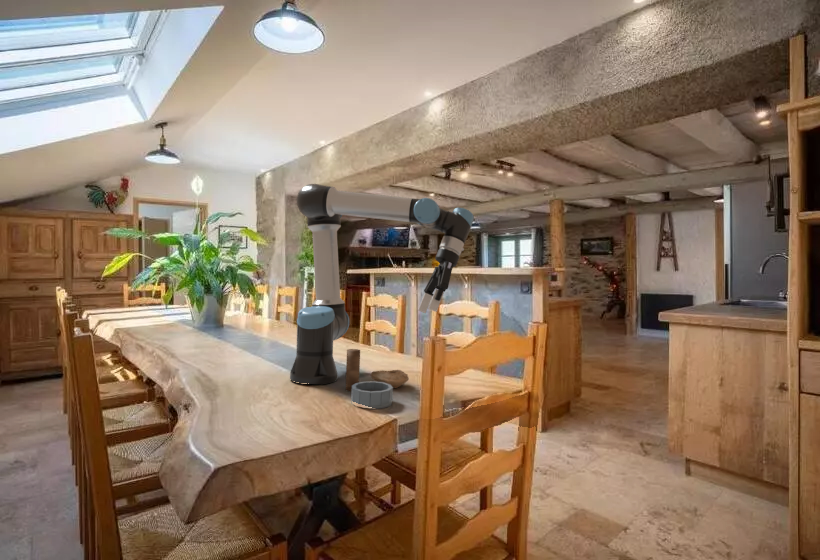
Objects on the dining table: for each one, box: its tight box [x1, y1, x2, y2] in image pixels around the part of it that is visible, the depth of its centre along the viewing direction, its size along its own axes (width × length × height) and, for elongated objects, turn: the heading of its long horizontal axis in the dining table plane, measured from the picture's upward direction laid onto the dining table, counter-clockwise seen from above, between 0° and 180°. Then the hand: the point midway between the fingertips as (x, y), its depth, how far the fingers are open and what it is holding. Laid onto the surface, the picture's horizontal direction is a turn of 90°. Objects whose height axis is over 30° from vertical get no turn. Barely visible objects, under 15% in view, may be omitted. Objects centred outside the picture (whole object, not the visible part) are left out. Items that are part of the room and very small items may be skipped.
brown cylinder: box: [345, 348, 361, 392], centre depth 131 cm, size 4×4×12 cm
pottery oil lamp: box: [370, 369, 409, 389], centre depth 138 cm, size 9×12×7 cm
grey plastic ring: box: [350, 380, 394, 410], centre depth 119 cm, size 11×11×4 cm
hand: (426, 311), depth 141 cm, fingers open, 13 cm apart
